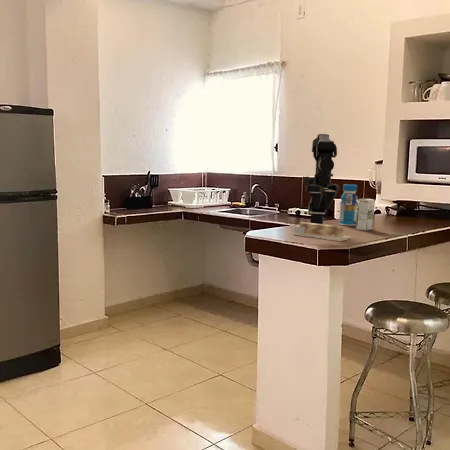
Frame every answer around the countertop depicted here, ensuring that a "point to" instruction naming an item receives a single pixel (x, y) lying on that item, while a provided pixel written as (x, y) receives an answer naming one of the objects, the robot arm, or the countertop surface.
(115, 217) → the countertop surface
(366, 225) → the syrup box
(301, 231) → the bracket board
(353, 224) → the beverage bottle
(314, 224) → the oak rail
